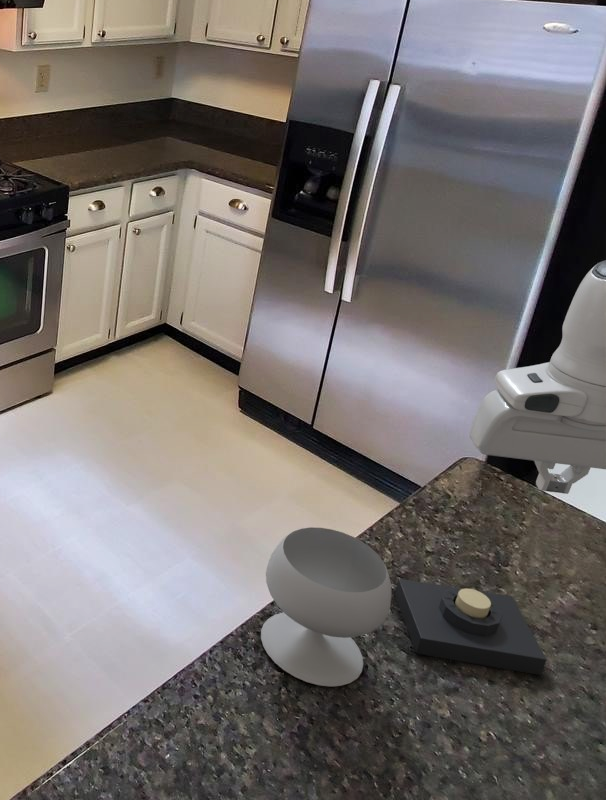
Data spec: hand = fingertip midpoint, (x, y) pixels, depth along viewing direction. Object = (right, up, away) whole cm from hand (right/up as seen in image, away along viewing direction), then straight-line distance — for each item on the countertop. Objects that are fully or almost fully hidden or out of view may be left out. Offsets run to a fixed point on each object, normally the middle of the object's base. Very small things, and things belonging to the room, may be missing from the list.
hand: (551, 489), depth 98 cm
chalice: (-28, -22, +4) cm, 36 cm away
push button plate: (-7, -20, +7) cm, 22 cm away
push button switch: (-7, -17, +5) cm, 18 cm away
